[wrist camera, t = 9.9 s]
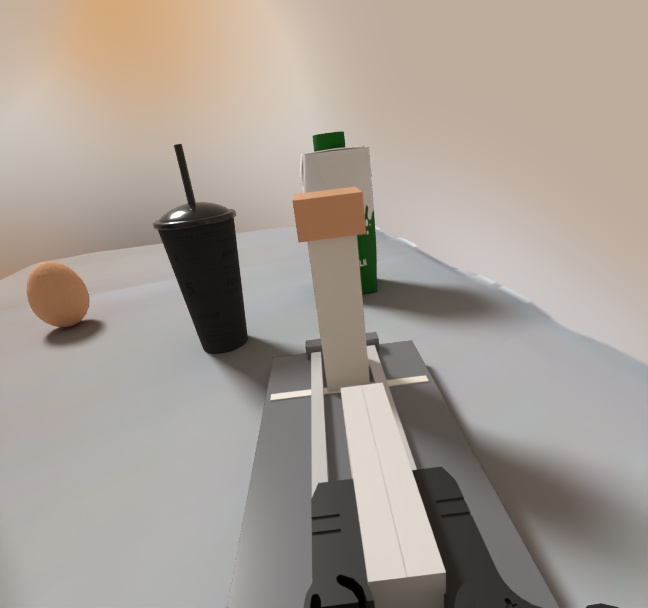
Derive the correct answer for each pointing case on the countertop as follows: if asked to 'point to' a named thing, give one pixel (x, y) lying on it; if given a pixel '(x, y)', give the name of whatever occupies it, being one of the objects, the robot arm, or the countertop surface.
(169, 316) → the countertop surface
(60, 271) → the egg
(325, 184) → the milk carton
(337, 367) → the fader
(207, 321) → the drinking cup
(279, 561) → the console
